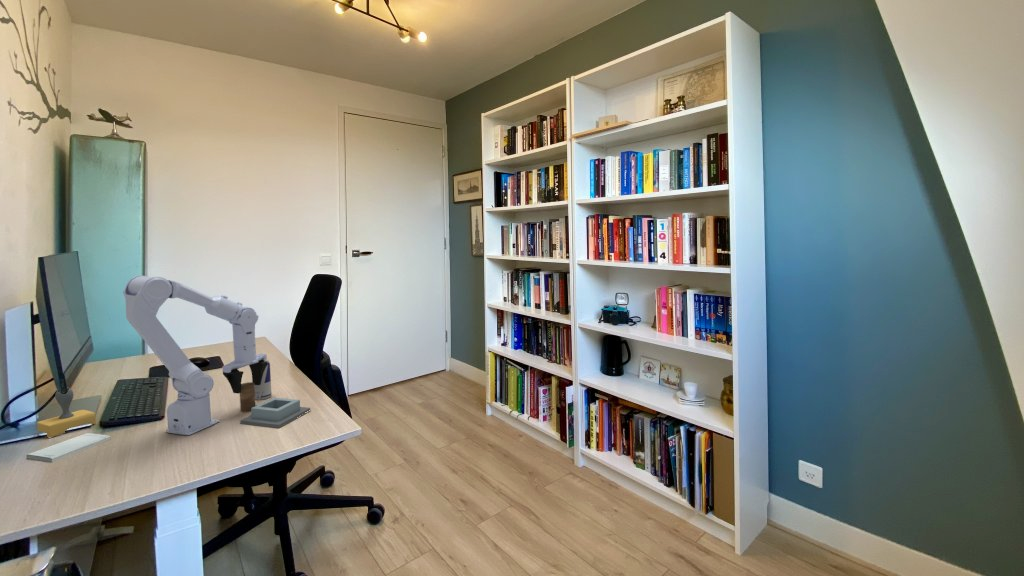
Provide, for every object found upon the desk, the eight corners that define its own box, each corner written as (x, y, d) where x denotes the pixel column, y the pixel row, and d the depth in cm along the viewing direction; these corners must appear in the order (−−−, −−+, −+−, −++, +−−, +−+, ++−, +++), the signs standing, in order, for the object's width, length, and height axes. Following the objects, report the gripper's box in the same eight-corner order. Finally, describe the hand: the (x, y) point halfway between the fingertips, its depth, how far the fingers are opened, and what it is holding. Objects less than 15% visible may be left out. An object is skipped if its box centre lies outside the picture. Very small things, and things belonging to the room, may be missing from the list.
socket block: (279, 428, 122) (278, 414, 121) (240, 423, 125) (239, 410, 124) (310, 410, 134) (309, 398, 134) (274, 407, 137) (273, 394, 137)
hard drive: (51, 458, 102) (110, 435, 114) (25, 454, 104) (86, 432, 116) (52, 464, 102) (111, 441, 114) (26, 460, 104) (87, 438, 116)
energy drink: (275, 394, 148) (273, 360, 147) (264, 400, 143) (262, 364, 142) (260, 394, 149) (258, 359, 147) (249, 399, 143) (247, 364, 142)
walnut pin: (248, 412, 133) (247, 386, 132) (237, 411, 134) (236, 385, 133) (258, 407, 137) (257, 382, 136) (248, 406, 138) (246, 381, 137)
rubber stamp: (49, 439, 114) (44, 394, 113) (37, 435, 116) (32, 391, 115) (96, 424, 123) (92, 383, 122) (84, 421, 126) (80, 380, 124)
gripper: (235, 352, 125) (238, 397, 127) (273, 341, 139) (275, 382, 141) (215, 350, 127) (218, 395, 128) (255, 339, 141) (257, 380, 142)
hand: (247, 388), depth 135 cm, fingers open, 7 cm apart
